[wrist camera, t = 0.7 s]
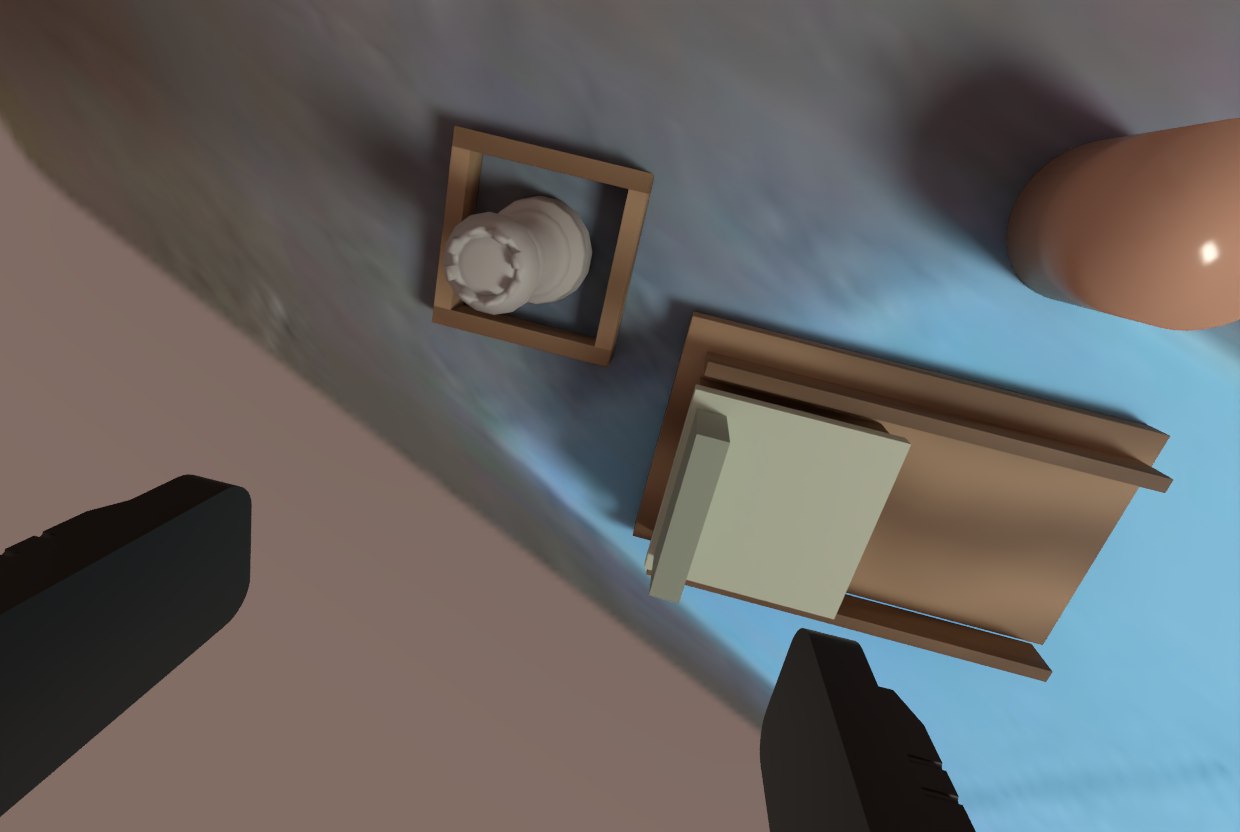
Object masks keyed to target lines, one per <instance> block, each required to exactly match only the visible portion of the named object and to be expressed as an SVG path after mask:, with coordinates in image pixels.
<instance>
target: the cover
mask: <svg viewBox="0 0 1240 832" xmlns="http://www.w3.org/2000/svg"><path fill="white" fill-rule="evenodd" d="M910 446H911V444H910V442H909V441H908V440H907V439H906V438H904V437H900V436H896V435H893V434H889V433H885V432H881V431H877V430H873V429H869V428H865V427H861V426H857V425H853V424H850V423H846V422H842V421H838V420H834V419H830V418H826V417H822V416H818V415H814V414H810V413H807V412H803V411H799V410H795V409H791V408H787V407H783V406H779V405H775V404H771V403H767V402H763V401H760V400H756V399H752V398H748V397H744V396H740V395H736V394H732V393H728V392H724V391H720V390H717V389H713V388H709V387H705V386H701V385H697V384H696V385H695V389H694V392H693V396H692V399H691V403H690V406H689V410H688V413H687V417H686V420H685V424H684V427H683V431H682V434H681V438H680V441H679V444H678V448H677V451H676V455H675V458H674V462H673V465H672V469H671V472H670V476H669V479H668V483H667V486H666V490H665V493H664V497H663V500H662V504H661V507H660V511H659V514H658V518H657V521H656V525H655V528H654V531H653V535H652V538H651V542H650V545H649V549H648V552H647V556H646V559H645V566H644V568H645V569H648V570H652V574H651V582H650V590H649V595H650V596H653V597H657V598H661V599H664V600H668V601H672V602H675V603H679V601H680V598H681V595H682V591H683V588H684V585H685V582H686V580H689V581H693V582H697V583H700V584H704V585H708V586H711V587H715V588H719V589H723V590H726V591H730V592H734V593H737V594H741V595H745V596H749V597H752V598H756V599H760V600H764V601H767V602H771V603H775V604H778V605H782V606H786V607H790V608H793V609H797V610H801V611H804V612H808V613H812V614H816V615H819V616H823V617H827V618H830V619H834V618H835V616H836V614H837V612H838V609H839V607H840V605H841V603H842V600H843V598H844V596H845V593H846V591H847V589H848V587H849V584H850V582H851V580H852V578H853V575H854V573H855V571H856V569H857V566H858V564H859V562H860V560H861V557H862V555H863V553H864V550H865V548H866V546H867V544H868V541H869V539H870V537H871V535H872V532H873V530H874V528H875V526H876V523H877V521H878V519H879V516H880V514H881V512H882V510H883V507H884V505H885V503H886V501H887V498H888V496H889V494H890V492H891V489H892V487H893V485H894V483H895V480H896V478H897V476H898V473H899V471H900V469H901V467H902V464H903V462H904V460H905V458H906V455H907V453H908V451H909V449H910Z"/></svg>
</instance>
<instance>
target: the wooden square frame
mask: <svg viewBox="0 0 1240 832" xmlns="http://www.w3.org/2000/svg"><path fill="white" fill-rule="evenodd" d="M483 154H487V155H491V156H495V157H499V158H503V159H507V160H511V161H515V162H519V163H523V164H528V165H532V166H536V167H540V168H544V169H548V170H552V171H556V172H560V173H564V174H569V175H573V176H577V177H581V178H585V179H589V180H593V181H597V182H601V183H605V184H610V185H614V186H618V187H622V188H626V189H629V190H628V195H627V199H626V204H625V209H624V213H623V218H622V222H621V227H620V232H619V236H618V241H617V245H616V250H615V255H614V259H613V264H612V268H611V273H610V278H609V282H608V287H607V291H606V296H605V300H604V305H603V310H602V314H601V319H600V323H599V328H598V333H597V337H596V338H593V337H589V336H585V335H581V334H577V333H573V332H569V331H566V330H562V329H558V328H554V327H550V326H546V325H542V324H538V323H534V322H530V321H526V320H522V319H518V318H514V317H511V316H507V315H503V314H496V315H493V314H489V313H485V312H481V311H477V310H475V309H473V308H472V307H471V306H467V305H463V301H462V300H461V299H460V298H459V297H458V296H456V295H457V294H456V293H455V291H454V290H453V288H452V287H451V285H450V284H449V282H447V280H446V277H445V273H444V269H443V266H444V255H445V246H446V242H447V240H448V238H449V237H450V235H451V233H452V231H453V229H454V228H455V226H456V225H458V224H459V223H461V222H462V221H463V220H465V219H466V218H467V217H469V216H470V215H474V214H475V211H476V203H477V195H478V188H479V180H480V173H481V165H482V158H483ZM653 180H654V175H653V174H652V173H648V172H643V171H639V170H635V169H631V168H627V167H623V166H619V165H615V164H610V163H606V162H602V161H598V160H594V159H590V158H586V157H582V156H577V155H573V154H569V153H565V152H561V151H557V150H553V149H549V148H544V147H540V146H536V145H532V144H528V143H524V142H520V141H516V140H511V139H507V138H503V137H499V136H495V135H491V134H487V133H483V132H478V131H474V130H470V129H466V128H462V127H458V126H454V134H453V143H452V152H451V161H450V169H449V178H448V187H447V195H446V204H445V213H444V222H443V230H442V239H441V248H440V256H439V265H438V274H437V283H436V291H435V300H434V309H433V318H432V322H433V323H437V324H441V325H445V326H449V327H453V328H457V329H461V330H464V331H468V332H472V333H476V334H480V335H484V336H488V337H492V338H496V339H500V340H503V341H507V342H511V343H515V344H519V345H523V346H527V347H531V348H535V349H539V350H543V351H546V352H550V353H554V354H558V355H562V356H566V357H570V358H574V359H578V360H582V361H585V362H589V363H593V364H597V365H601V366H605V367H608V365H609V364H610V362H611V360H612V358H613V353H614V349H615V345H616V340H617V336H618V332H619V327H620V323H621V319H622V314H623V310H624V306H625V301H626V297H627V293H628V288H629V284H630V279H631V275H632V271H633V266H634V262H635V258H636V253H637V249H638V245H639V240H640V236H641V232H642V227H643V223H644V219H645V214H646V210H647V206H648V201H649V197H650V193H651V188H652V184H653Z"/></svg>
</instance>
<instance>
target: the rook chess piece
mask: <svg viewBox="0 0 1240 832" xmlns="http://www.w3.org/2000/svg"><path fill="white" fill-rule="evenodd" d="M591 257H592V248H591V242H590V237H589V231H588V230H587V228H586V226H585V225H584V223H583V222H582V220H581V218H580V217H579V215H578V213H577V212H575V211H574V210H573V209H571V208H570V207H569V206H567V205H566V204H565V203H563V202H562V201H560V200H557V199H553V198H549V197H544V196H535V197H529V198H524V199H520V200H516V201H514V202H512V203H511V204H510V205H508V206H507V207H506V208H504V209H503V210H501V211H500V212H499V213H498V214H497V213H493V212H485V213H480V214H474V215H470V216H469V217H467V218H466V219H465V220H463V221H462V222H461V223H459V224H458V225H456V226H455V228H454V229H453V231H452V233H451V235H450V237H449V238H448V240H447V242H446V246H445V255H444V266H443V269H444V273H445V277H446V280H447V282H449V284H450V285H451V287H452V288H453V290H454V291H455V293H456V294H457V295H456V296H458V297H459V298H460V299H461V300H462V301H463V302H465V303H466V304H468V305H469V306H471V307H472V308H473V309H475V310H477V311H481V312H485V313H489V314H493V315H496V314H502V313H509V312H513V311H514V310H516V309H517V308H519V307H520V306H522V305H523V304H525V303H526V302H529V303H533V304H543V303H549V302H555V301H558V300H562V299H563V298H565V297H566V296H568V295H570V294H571V293H573V292H574V291H576V290H577V289H578V288H579V286H580V285H581V283H582V282H583V280H584V279H585V277H586V276H587V274H588V272H589V267H590V262H591Z"/></svg>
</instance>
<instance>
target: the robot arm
mask: <svg viewBox="0 0 1240 832" xmlns="http://www.w3.org/2000/svg"><path fill="white" fill-rule="evenodd" d="M250 553H251V498H250V495H249V493H248V491H247V490H245V489H244V488H243V487H240V486H236V485H232V484H228V483H224V482H219V481H216V480H212V479H207V478H204V477H200V476H196V475H183V476H180V477H177V478H175V479H173V480H171V481H169V482H167V483H165V484H163V485H161V486H158V487H156V488H154V489H152V490H150V491H148V492H146V493H144V494H142V495H140V496H138V497H135V498H133V499H131V500H129V501H125V502H121V503H117V504H113V505H109V506H106V507H102V508H98V509H94V510H90V511H87V512H84V513H82V514H80V515H78V516H76V517H74V518H71V519H69V520H67V521H65V522H63V523H60V524H58V525H56V526H54V527H52V528H50V529H48V530H45V531H43V534H42V535H41V536H40V537H37V536H32V537H30V538H28V539H26V540H24V541H22V542H19V543H17V544H15V545H13V546H11V547H9V548H6V549H5V552H4V553H3V554H2V555H0V817H1V816H2V815H3V814H4V813H5V812H7V811H8V810H9V809H10V808H11V807H12V806H14V805H15V804H16V803H17V802H18V801H19V800H21V799H22V798H23V797H24V796H25V795H26V794H28V793H29V792H30V791H31V790H32V789H34V788H35V787H36V786H37V785H38V784H39V783H41V782H42V781H43V780H44V779H45V778H46V777H48V776H49V775H50V774H51V773H52V772H54V771H55V770H56V769H57V768H58V767H59V766H61V765H62V764H63V763H64V762H65V761H67V760H68V759H69V758H70V757H71V756H72V755H74V754H75V753H76V752H77V751H78V750H79V749H81V748H82V747H83V746H84V745H85V744H87V743H88V742H89V741H90V740H91V739H92V738H94V736H96V735H97V734H98V733H99V732H101V731H102V730H103V729H104V728H105V727H107V726H108V725H109V724H110V723H111V722H112V721H113V720H115V719H116V718H117V717H118V716H119V715H121V714H122V713H123V712H124V711H125V710H126V709H128V708H129V707H130V706H131V705H132V704H134V703H135V702H136V701H137V700H138V699H139V698H141V697H142V696H143V695H144V694H145V693H147V692H148V691H149V690H150V689H151V688H152V687H153V686H155V685H156V684H157V683H158V682H159V681H161V680H162V679H163V678H164V677H165V676H167V674H169V673H170V672H171V671H172V670H174V669H175V668H176V667H177V666H178V665H179V664H181V663H182V662H183V661H184V660H185V659H186V658H188V657H189V656H190V655H191V654H192V653H194V652H195V651H196V650H197V649H198V648H199V647H201V646H202V645H203V644H204V643H205V642H207V641H208V640H209V639H210V638H211V637H212V636H213V635H215V634H216V633H217V632H218V631H219V630H221V629H222V628H223V627H224V626H225V625H226V624H227V623H228V622H230V620H231V619H232V618H233V617H234V615H235V614H236V613H237V611H238V610H239V608H240V607H241V605H242V603H243V601H244V599H245V596H246V594H247V591H248V587H249V583H250ZM760 763H761V770H762V778H763V785H764V792H765V799H766V806H767V813H768V820H769V827H770V832H976V831H975V829H974V827H973V825H972V823H971V821H970V819H969V817H968V815H967V813H966V811H965V809H964V807H963V805H960V804H958V797H959V796H958V794H957V792H956V790H955V788H954V786H953V784H952V782H951V780H950V778H949V776H948V774H947V772H946V771H944V770H942V761H941V759H940V757H939V755H938V753H937V751H936V749H935V747H934V745H933V743H932V741H931V739H930V737H929V735H928V733H927V731H926V728H925V726H924V725H923V724H922V722H921V721H920V720H919V719H918V718H917V717H916V716H915V714H914V713H913V712H912V711H911V710H910V709H909V708H908V706H907V705H906V704H905V703H904V702H903V701H902V700H901V699H900V697H899V696H898V695H897V694H896V693H895V692H894V691H893V690H891V689H887V688H883V687H879V686H878V685H877V682H876V680H875V678H874V675H873V673H872V671H871V668H870V666H869V664H868V661H867V659H866V657H865V654H864V652H863V650H862V648H861V646H860V645H859V643H858V642H856V641H853V640H849V639H845V638H841V637H837V636H833V635H829V634H825V633H821V632H817V631H813V630H809V629H805V628H801V629H799V630H798V631H797V633H796V634H795V636H794V638H793V640H792V642H791V645H790V648H789V650H788V653H787V656H786V658H785V661H784V664H783V667H782V669H781V672H780V675H779V677H778V680H777V683H776V686H775V688H774V691H773V694H772V696H771V699H770V702H769V705H768V707H767V710H766V713H765V716H764V720H763V725H762V731H761V739H760Z"/></svg>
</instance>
